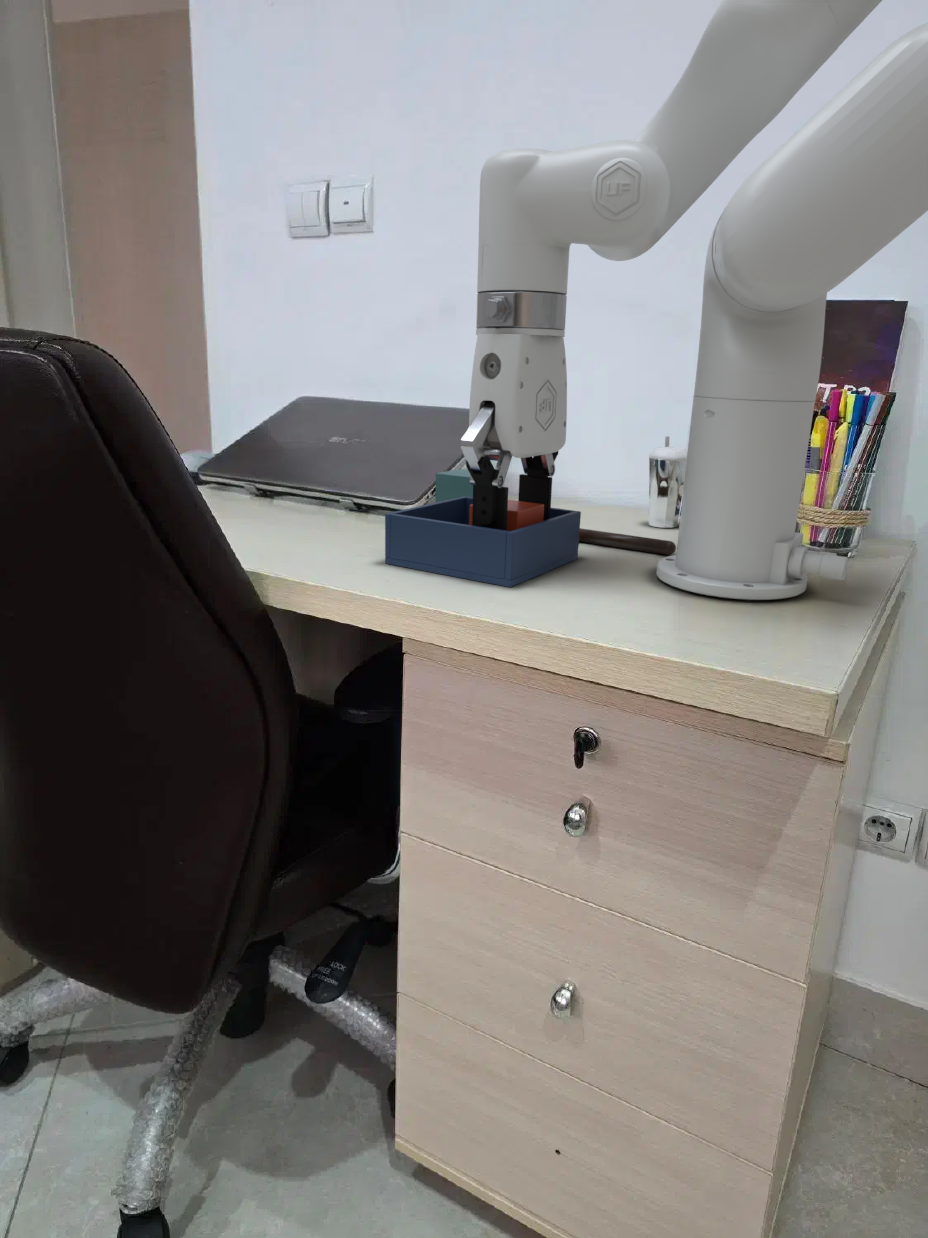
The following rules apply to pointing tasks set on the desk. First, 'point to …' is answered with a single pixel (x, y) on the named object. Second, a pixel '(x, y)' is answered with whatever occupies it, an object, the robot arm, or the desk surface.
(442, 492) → the block teal
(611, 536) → the dark brown dowel rod
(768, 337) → the robot arm
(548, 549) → the basket
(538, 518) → the block red
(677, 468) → the milkshake
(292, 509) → the desk surface
